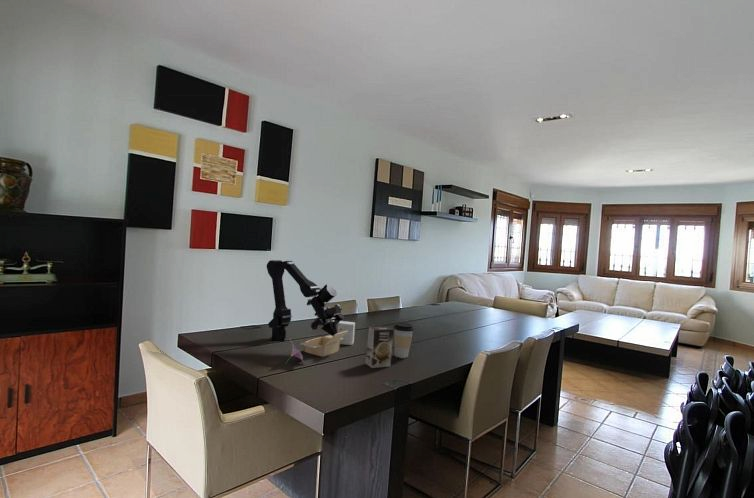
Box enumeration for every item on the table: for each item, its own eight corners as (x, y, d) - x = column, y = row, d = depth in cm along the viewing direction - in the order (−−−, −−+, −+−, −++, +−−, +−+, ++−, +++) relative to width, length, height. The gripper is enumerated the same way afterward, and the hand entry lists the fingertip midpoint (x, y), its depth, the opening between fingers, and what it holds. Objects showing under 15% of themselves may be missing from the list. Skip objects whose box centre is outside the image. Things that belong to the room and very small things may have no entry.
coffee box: (371, 368, 165) (375, 329, 165) (365, 363, 171) (368, 326, 170) (390, 366, 169) (394, 329, 169) (383, 362, 175) (386, 325, 175)
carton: (296, 353, 176) (297, 342, 176) (326, 344, 196) (327, 334, 195) (315, 359, 171) (316, 347, 171) (345, 348, 190) (345, 338, 190)
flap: (335, 334, 174) (335, 334, 174) (347, 330, 182) (348, 331, 182) (324, 344, 176) (325, 345, 176) (337, 340, 185) (338, 341, 185)
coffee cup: (414, 356, 188) (416, 324, 188) (407, 360, 180) (409, 328, 179) (395, 352, 192) (398, 321, 192) (387, 356, 184) (390, 324, 183)
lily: (299, 372, 156) (312, 350, 158) (273, 358, 156) (286, 336, 159) (302, 372, 167) (314, 351, 170) (278, 358, 168) (290, 338, 171)
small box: (353, 342, 203) (355, 322, 203) (352, 345, 197) (353, 324, 197) (338, 341, 204) (340, 320, 203) (336, 343, 198) (338, 322, 198)
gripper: (319, 300, 173) (336, 331, 168) (343, 296, 189) (359, 325, 184) (303, 314, 177) (319, 345, 172) (328, 309, 193) (343, 337, 189)
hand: (336, 337), depth 179 cm, fingers closed, pressing on flap
